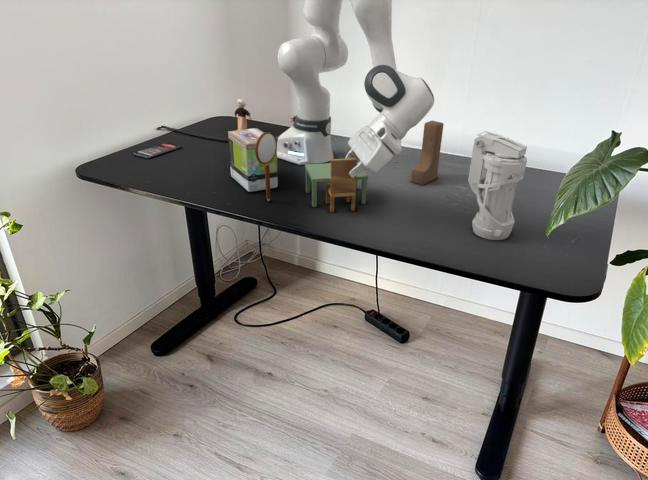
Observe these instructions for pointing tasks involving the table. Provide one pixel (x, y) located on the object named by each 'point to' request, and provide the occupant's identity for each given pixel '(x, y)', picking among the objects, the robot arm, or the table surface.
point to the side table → (328, 179)
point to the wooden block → (429, 153)
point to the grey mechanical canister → (495, 183)
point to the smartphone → (156, 150)
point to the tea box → (249, 161)
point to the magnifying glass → (266, 155)
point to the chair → (341, 182)
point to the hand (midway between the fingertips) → (346, 170)
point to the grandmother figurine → (242, 115)
